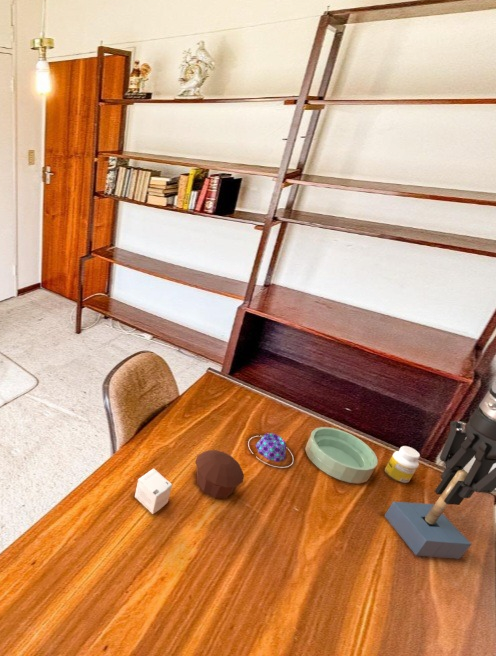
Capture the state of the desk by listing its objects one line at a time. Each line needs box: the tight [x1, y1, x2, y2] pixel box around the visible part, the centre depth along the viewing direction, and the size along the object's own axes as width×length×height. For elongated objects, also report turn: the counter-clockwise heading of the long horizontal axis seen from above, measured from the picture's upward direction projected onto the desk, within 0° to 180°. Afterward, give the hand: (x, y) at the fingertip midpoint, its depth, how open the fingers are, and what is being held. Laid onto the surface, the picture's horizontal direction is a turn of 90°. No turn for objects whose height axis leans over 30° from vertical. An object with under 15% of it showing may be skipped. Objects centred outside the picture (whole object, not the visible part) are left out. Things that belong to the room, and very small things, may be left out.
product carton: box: [134, 468, 173, 515], centre depth 99 cm, size 6×6×7 cm
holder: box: [384, 501, 472, 560], centre depth 93 cm, size 10×10×6 cm
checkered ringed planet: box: [247, 432, 295, 469], centre depth 116 cm, size 12×12×5 cm
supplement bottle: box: [384, 445, 421, 484], centre depth 108 cm, size 5×5×10 cm
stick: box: [425, 469, 468, 524], centre depth 88 cm, size 2×2×17 cm
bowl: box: [304, 426, 379, 484], centre depth 113 cm, size 16×16×6 cm
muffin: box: [195, 449, 245, 500], centre depth 103 cm, size 12×11×10 cm
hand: (446, 497), depth 88 cm, fingers closed on stick, 2 cm apart
